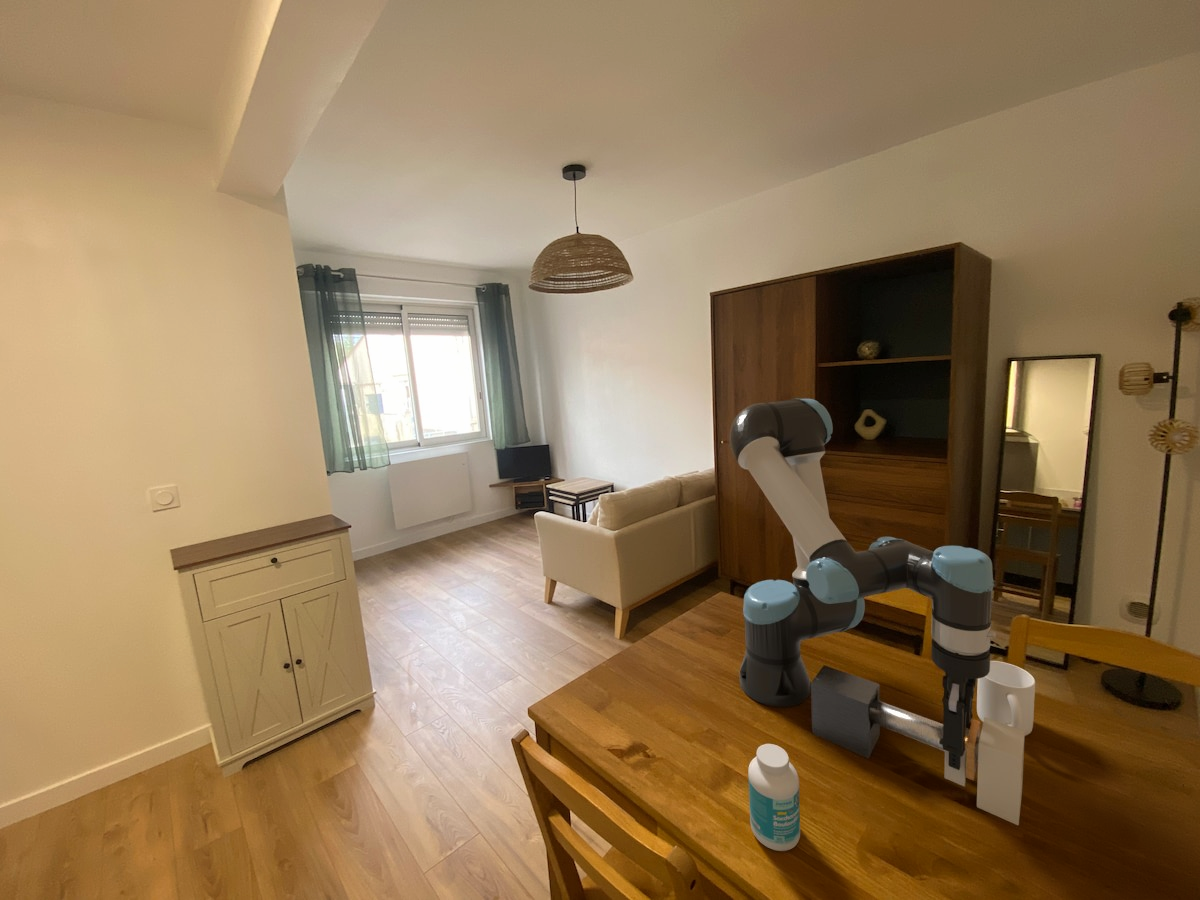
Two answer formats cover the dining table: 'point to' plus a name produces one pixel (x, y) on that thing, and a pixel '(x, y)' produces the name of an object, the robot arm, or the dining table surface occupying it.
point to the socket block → (1000, 770)
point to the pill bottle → (774, 798)
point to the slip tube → (924, 730)
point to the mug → (1007, 696)
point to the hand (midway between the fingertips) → (957, 771)
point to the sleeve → (844, 710)
